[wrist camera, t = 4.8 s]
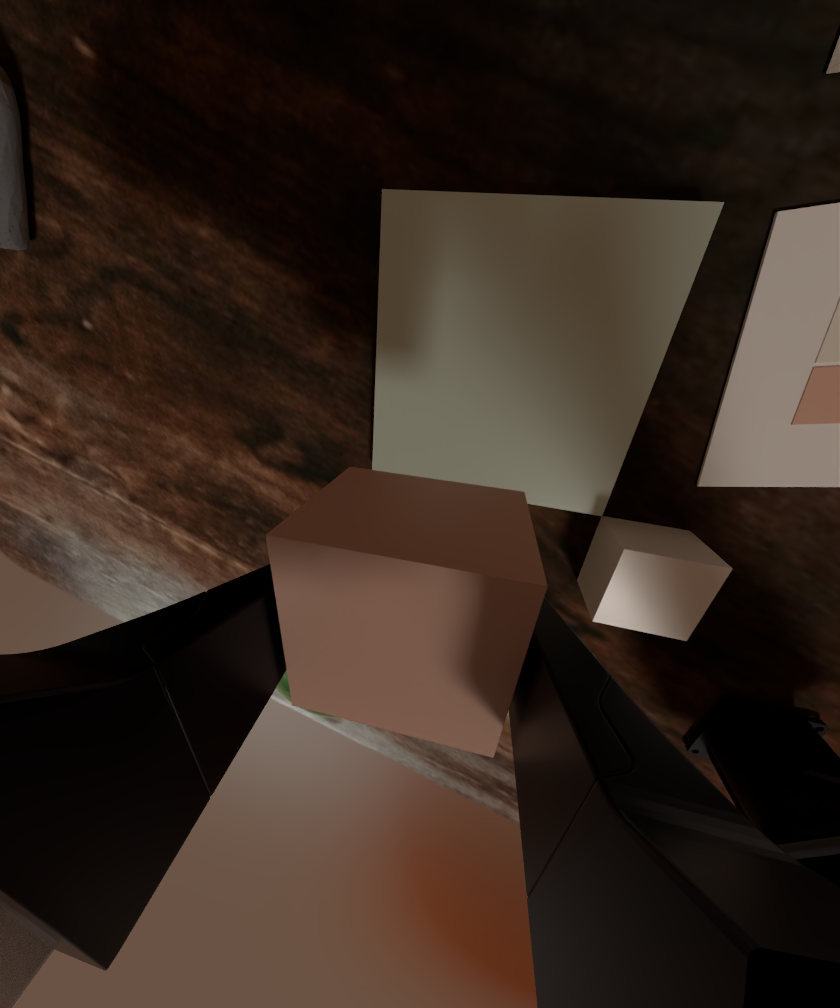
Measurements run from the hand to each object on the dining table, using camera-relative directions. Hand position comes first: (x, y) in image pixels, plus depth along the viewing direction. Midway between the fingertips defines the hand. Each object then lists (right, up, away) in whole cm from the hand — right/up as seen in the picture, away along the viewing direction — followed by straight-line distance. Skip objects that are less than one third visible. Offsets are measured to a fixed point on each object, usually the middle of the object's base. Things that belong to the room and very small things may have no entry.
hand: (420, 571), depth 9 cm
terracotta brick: (0, 0, +1) cm, 1 cm away
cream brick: (+13, -1, +12) cm, 18 cm away
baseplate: (+5, +9, +9) cm, 13 cm away
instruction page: (+20, +8, +6) cm, 22 cm away
